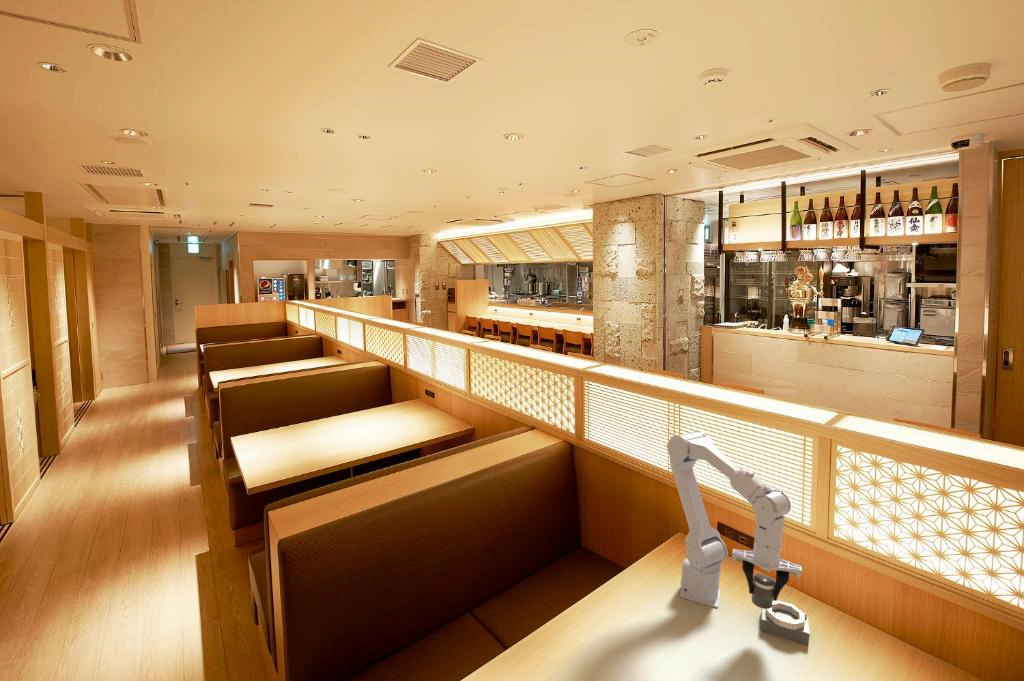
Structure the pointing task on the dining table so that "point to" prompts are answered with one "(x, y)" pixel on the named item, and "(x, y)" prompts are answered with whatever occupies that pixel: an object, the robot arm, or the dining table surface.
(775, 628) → the octagonal ring base
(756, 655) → the dining table surface
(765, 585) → the lens
